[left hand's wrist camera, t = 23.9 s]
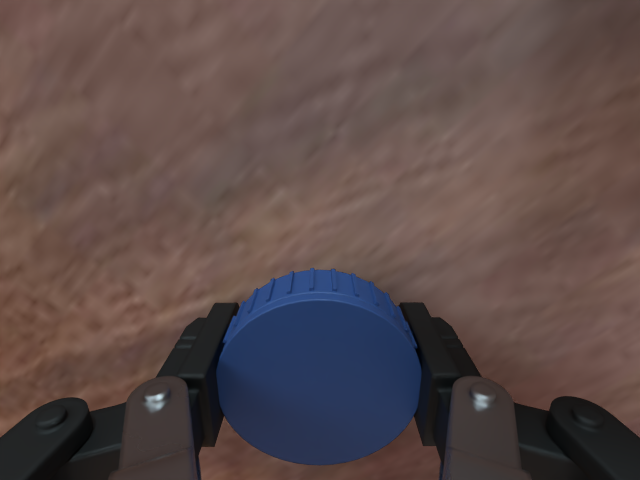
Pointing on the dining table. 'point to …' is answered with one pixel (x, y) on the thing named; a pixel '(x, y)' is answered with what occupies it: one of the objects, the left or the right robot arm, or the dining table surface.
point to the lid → (319, 369)
